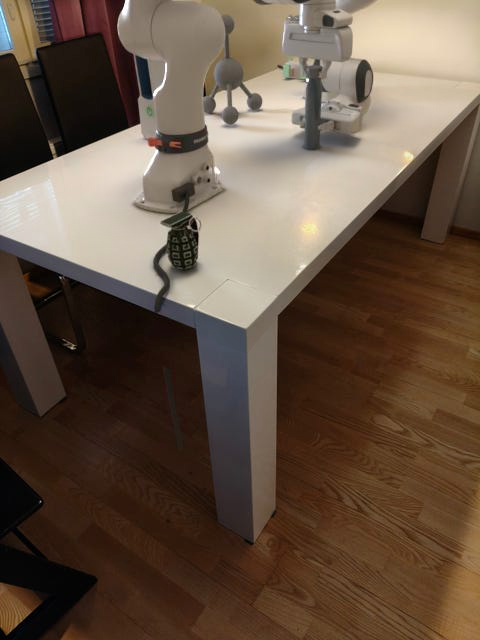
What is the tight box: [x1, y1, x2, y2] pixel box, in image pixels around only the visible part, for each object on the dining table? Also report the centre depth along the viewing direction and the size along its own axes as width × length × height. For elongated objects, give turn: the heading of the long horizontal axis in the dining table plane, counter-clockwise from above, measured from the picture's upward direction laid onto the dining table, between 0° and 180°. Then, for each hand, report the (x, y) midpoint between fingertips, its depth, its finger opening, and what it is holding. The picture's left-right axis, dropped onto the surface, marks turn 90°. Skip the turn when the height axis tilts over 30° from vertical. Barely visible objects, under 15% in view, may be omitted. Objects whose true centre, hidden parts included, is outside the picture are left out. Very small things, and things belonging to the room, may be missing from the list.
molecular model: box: [203, 13, 263, 125], centre depth 160 cm, size 24×22×30 cm
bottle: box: [303, 78, 323, 151], centre depth 134 cm, size 4×4×20 cm
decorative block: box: [282, 57, 314, 80], centre depth 211 cm, size 26×6×20 cm
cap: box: [306, 65, 323, 78], centre depth 128 cm, size 4×4×2 cm
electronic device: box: [133, 54, 166, 140], centre depth 143 cm, size 12×8×30 cm, turn 47°
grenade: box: [159, 211, 202, 271], centre depth 88 cm, size 7×6×10 cm
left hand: (314, 77), depth 129 cm, fingers closed on cap, 4 cm apart
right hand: (310, 127), depth 136 cm, fingers closed on bottle, 4 cm apart
